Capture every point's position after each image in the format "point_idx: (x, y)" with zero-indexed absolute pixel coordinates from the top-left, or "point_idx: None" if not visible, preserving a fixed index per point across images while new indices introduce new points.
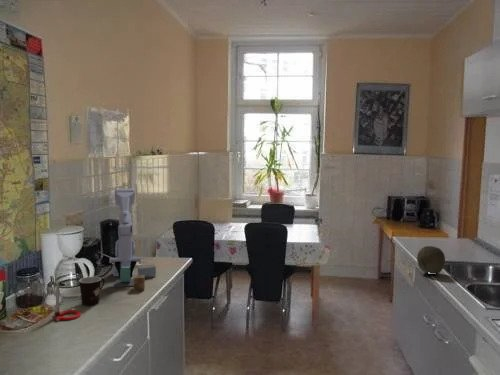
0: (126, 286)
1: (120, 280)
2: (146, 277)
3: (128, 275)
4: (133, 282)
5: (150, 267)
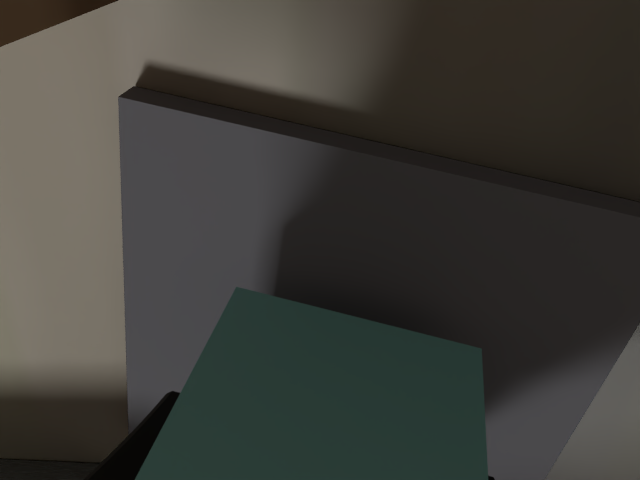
0: (350, 139)
1: (476, 374)
2: (9, 467)
3: (221, 421)
4: (185, 306)
5: None
